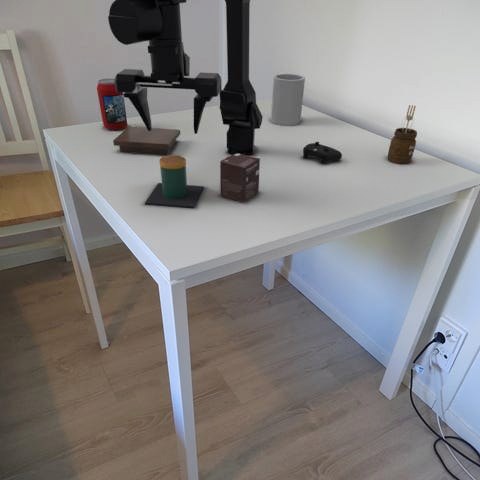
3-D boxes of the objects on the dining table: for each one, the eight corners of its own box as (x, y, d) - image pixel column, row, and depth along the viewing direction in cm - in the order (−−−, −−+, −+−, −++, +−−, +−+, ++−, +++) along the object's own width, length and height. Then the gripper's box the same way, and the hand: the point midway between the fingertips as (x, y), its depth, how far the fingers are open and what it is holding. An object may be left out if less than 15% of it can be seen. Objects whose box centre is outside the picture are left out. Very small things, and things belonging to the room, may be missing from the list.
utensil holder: (386, 162, 106) (398, 110, 98) (387, 154, 110) (399, 103, 102) (410, 165, 104) (425, 113, 97) (411, 157, 109) (425, 106, 101)
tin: (190, 189, 89) (188, 156, 85) (184, 200, 86) (182, 165, 81) (166, 188, 90) (163, 154, 85) (159, 198, 86) (155, 163, 81)
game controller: (344, 155, 106) (338, 142, 101) (333, 174, 106) (326, 162, 101) (312, 146, 111) (305, 132, 105) (302, 164, 111) (294, 151, 106)
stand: (180, 141, 114) (180, 129, 112) (169, 156, 105) (168, 144, 103) (130, 137, 115) (128, 126, 114) (114, 152, 106) (112, 140, 104)
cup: (268, 117, 134) (271, 73, 126) (296, 116, 135) (301, 73, 127) (273, 125, 127) (276, 80, 119) (303, 125, 128) (308, 80, 120)
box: (244, 203, 86) (245, 167, 81) (219, 196, 88) (219, 160, 84) (259, 193, 90) (261, 158, 85) (235, 186, 92) (235, 152, 88)
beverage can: (114, 132, 119) (106, 84, 111) (98, 127, 122) (90, 80, 114) (132, 127, 123) (126, 80, 115) (117, 122, 126) (110, 76, 118)
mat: (203, 188, 91) (203, 186, 91) (194, 208, 84) (193, 206, 83) (158, 184, 92) (158, 182, 92) (144, 204, 85) (144, 202, 84)
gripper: (225, 32, 78) (226, 122, 88) (127, 28, 80) (139, 117, 90) (215, 42, 70) (217, 140, 80) (106, 37, 71) (121, 134, 82)
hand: (172, 131), depth 83 cm, fingers open, 9 cm apart
